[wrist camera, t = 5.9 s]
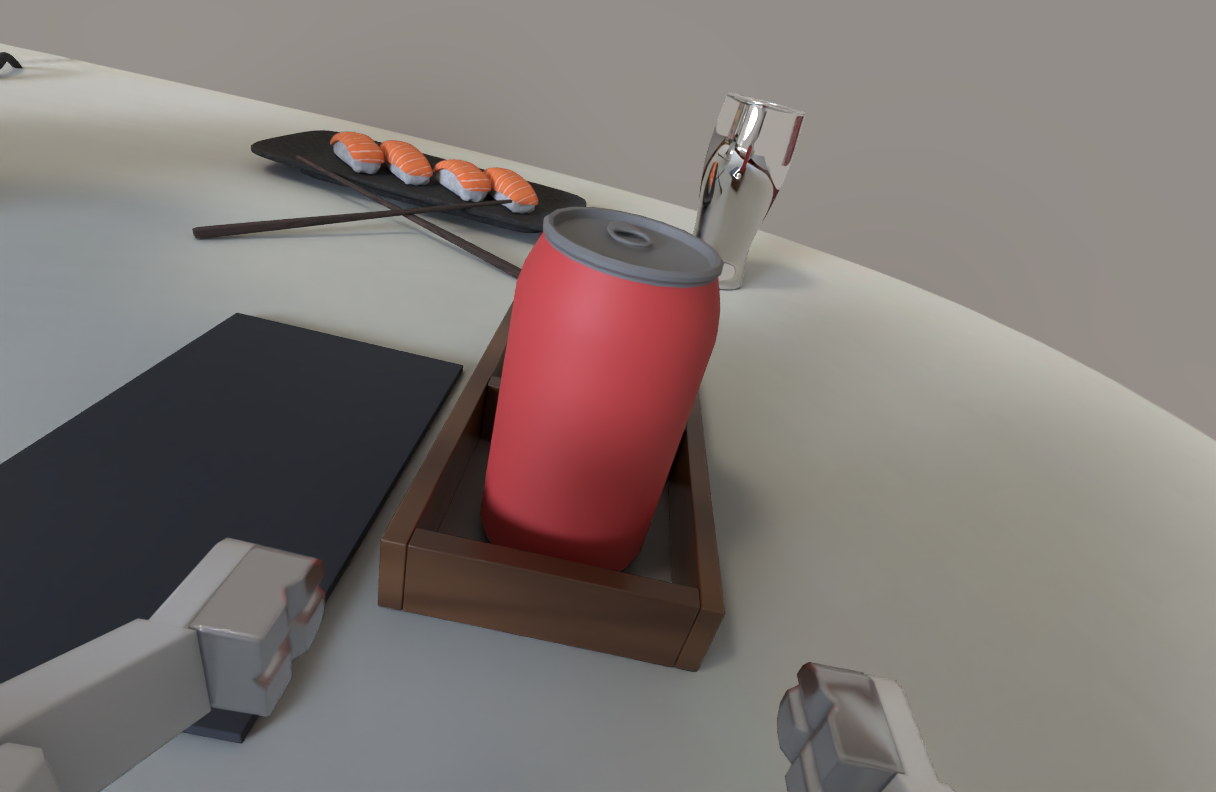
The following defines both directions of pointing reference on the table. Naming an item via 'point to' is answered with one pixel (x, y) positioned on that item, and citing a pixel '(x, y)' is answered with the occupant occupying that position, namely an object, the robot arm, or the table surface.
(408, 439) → the mat
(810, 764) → the robot arm
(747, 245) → the beer glass
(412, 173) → the sushi plate
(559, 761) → the table surface
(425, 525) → the tray
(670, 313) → the beer can
